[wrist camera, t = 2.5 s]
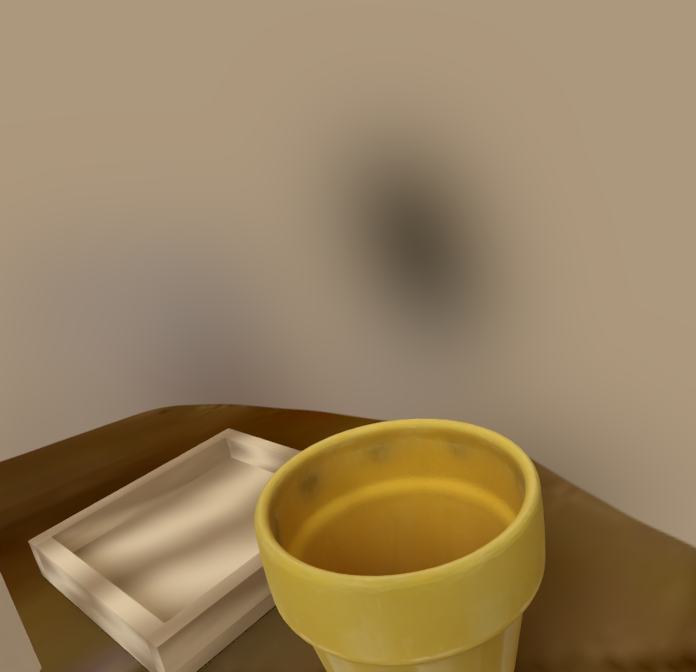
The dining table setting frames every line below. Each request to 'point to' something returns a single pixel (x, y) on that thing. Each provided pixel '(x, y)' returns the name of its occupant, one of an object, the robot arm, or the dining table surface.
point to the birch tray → (172, 554)
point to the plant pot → (405, 546)
